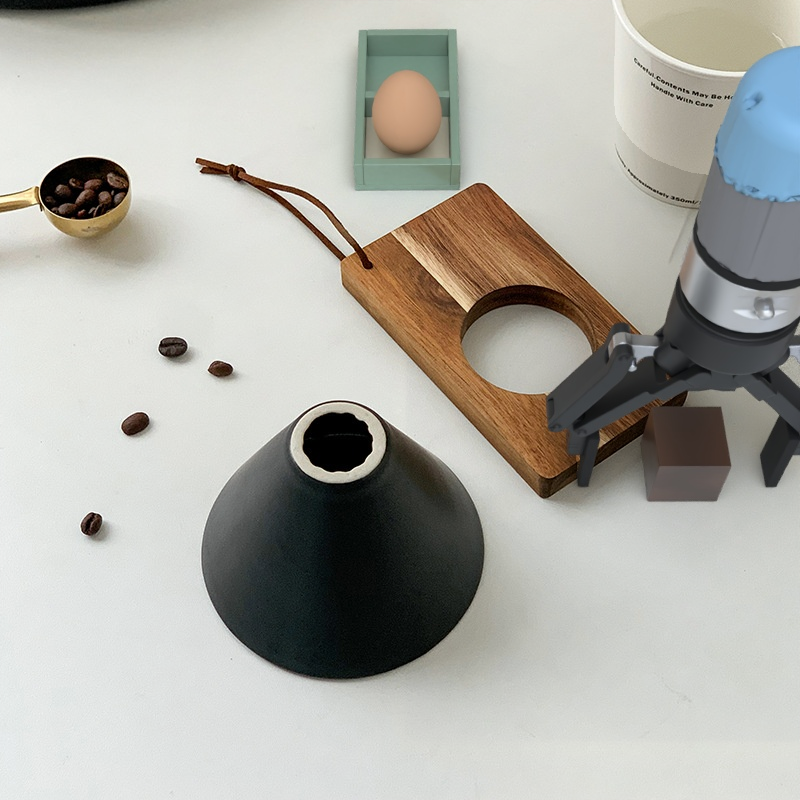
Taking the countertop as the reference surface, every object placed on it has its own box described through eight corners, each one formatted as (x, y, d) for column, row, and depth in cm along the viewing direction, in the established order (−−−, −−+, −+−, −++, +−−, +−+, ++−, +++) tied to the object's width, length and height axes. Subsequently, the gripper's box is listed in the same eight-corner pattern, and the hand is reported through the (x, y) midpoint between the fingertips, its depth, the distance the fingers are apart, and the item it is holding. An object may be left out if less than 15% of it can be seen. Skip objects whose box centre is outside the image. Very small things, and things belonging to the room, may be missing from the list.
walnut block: (707, 442, 89) (721, 406, 85) (716, 501, 86) (731, 466, 82) (640, 443, 89) (651, 406, 85) (647, 501, 87) (659, 466, 82)
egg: (451, 133, 106) (453, 63, 100) (424, 178, 103) (425, 109, 97) (390, 114, 108) (388, 44, 101) (361, 158, 105) (358, 89, 98)
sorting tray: (455, 55, 113) (456, 28, 111) (459, 189, 104) (460, 164, 101) (360, 55, 114) (358, 29, 111) (355, 190, 104) (353, 164, 101)
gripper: (532, 339, 68) (506, 515, 86) (972, 340, 68) (855, 516, 86) (525, 240, 72) (502, 427, 90) (940, 240, 72) (835, 427, 90)
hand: (674, 471), depth 88 cm, fingers open, 13 cm apart
